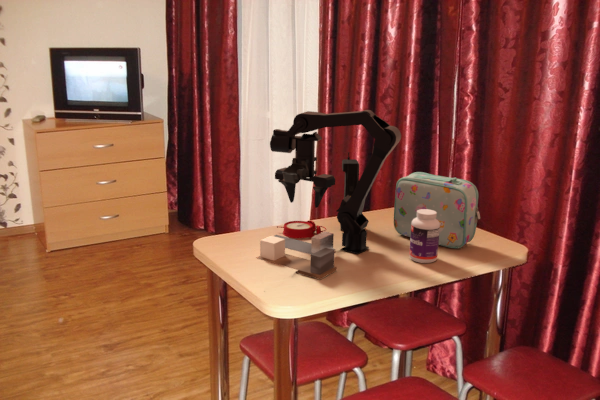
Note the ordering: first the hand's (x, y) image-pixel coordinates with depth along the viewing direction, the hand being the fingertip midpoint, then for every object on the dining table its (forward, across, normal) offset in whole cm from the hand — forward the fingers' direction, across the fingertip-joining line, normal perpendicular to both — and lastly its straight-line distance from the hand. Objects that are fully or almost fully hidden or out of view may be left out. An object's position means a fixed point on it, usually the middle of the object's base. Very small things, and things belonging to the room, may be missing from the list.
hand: (304, 204), depth 193 cm
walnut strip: (+12, +10, -18) cm, 24 cm away
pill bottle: (+12, +36, +9) cm, 39 cm away
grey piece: (+12, +2, -6) cm, 14 cm away
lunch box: (+12, +32, +27) cm, 43 cm away
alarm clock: (+12, -4, +5) cm, 14 cm away
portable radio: (+12, +4, +21) cm, 25 cm away
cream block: (+11, +2, -18) cm, 21 cm away
